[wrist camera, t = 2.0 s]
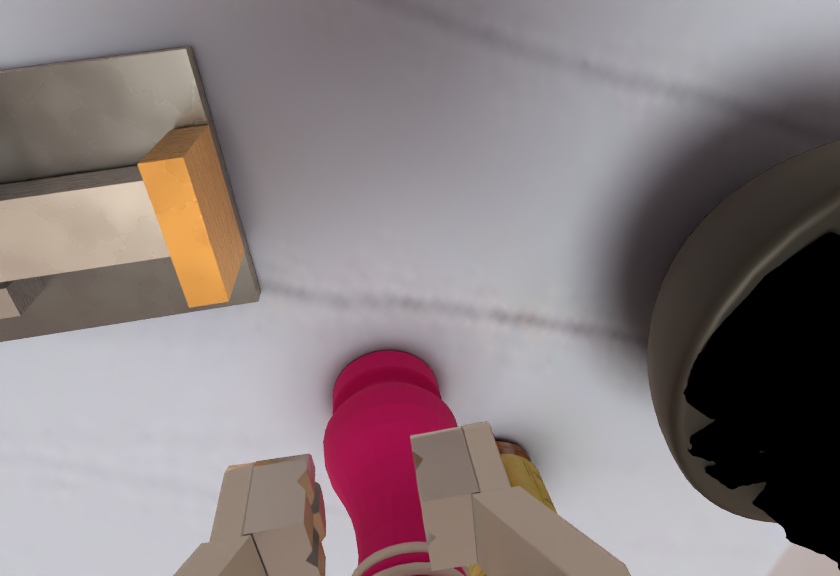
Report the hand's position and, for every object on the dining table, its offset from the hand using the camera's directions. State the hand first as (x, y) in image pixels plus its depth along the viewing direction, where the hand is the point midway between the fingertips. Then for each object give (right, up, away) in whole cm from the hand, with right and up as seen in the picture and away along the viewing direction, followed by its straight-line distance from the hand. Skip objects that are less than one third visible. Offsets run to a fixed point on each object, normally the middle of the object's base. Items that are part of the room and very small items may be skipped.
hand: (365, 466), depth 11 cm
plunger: (-13, +8, +14) cm, 21 cm away
